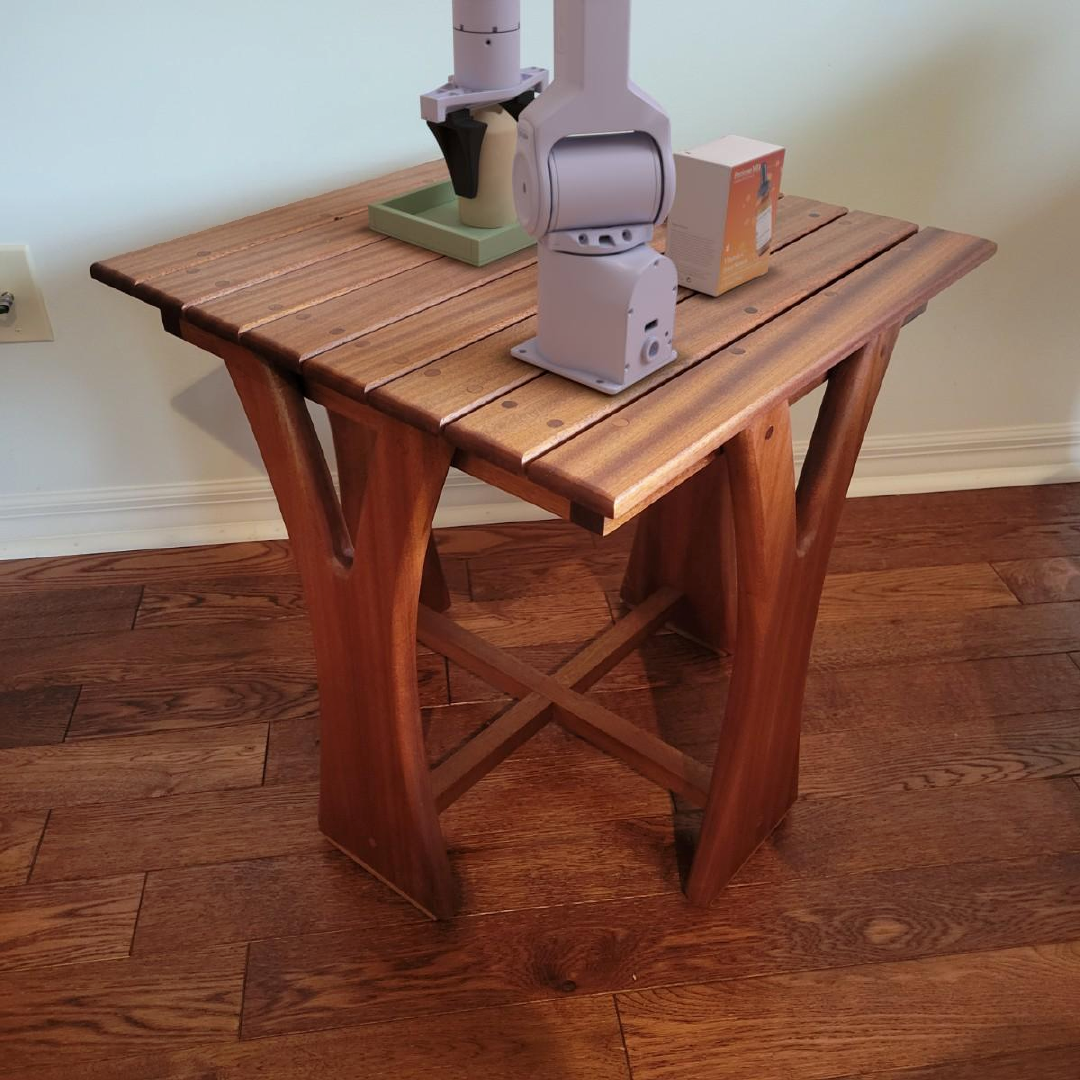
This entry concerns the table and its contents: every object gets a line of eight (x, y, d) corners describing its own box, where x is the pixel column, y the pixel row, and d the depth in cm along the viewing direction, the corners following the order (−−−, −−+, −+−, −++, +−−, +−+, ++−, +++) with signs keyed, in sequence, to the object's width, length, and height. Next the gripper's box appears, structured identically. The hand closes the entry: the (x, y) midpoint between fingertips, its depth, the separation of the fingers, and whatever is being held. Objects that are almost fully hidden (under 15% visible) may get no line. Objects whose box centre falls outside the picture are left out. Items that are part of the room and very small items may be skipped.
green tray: (604, 215, 104) (605, 190, 103) (478, 267, 93) (478, 240, 92) (498, 184, 111) (497, 161, 110) (369, 229, 100) (367, 204, 99)
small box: (715, 299, 88) (730, 167, 82) (660, 280, 91) (670, 151, 85) (770, 272, 93) (788, 145, 87) (715, 255, 96) (729, 131, 90)
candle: (510, 231, 99) (510, 116, 93) (451, 226, 100) (448, 112, 94) (523, 211, 104) (524, 100, 98) (467, 206, 105) (464, 96, 99)
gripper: (507, 8, 99) (508, 161, 107) (390, 32, 90) (400, 197, 98) (568, 19, 95) (564, 176, 103) (453, 45, 86) (458, 215, 94)
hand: (488, 188), depth 100 cm, fingers closed on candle, 5 cm apart
